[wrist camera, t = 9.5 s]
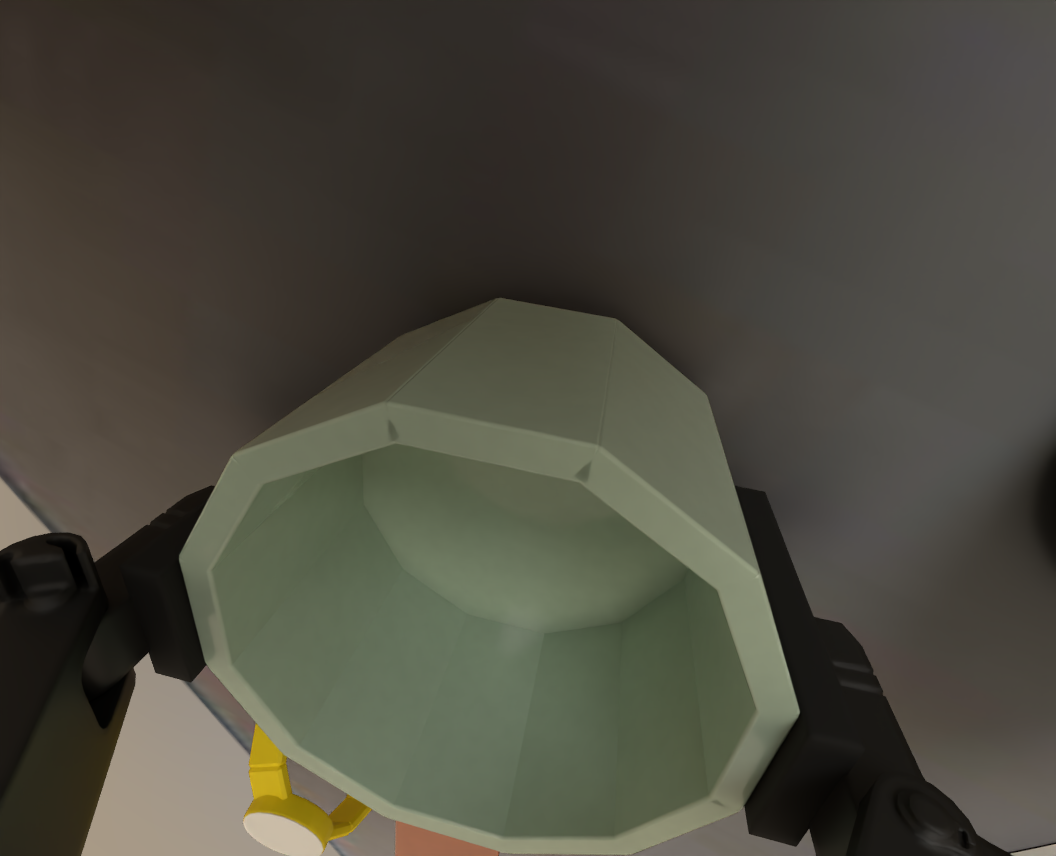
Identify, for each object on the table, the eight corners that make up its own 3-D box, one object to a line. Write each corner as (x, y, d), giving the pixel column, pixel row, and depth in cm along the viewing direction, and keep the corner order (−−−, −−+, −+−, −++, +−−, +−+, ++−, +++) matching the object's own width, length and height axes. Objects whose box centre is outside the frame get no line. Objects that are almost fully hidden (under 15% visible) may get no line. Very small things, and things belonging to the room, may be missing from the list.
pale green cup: (345, 269, 12) (121, 347, 7) (789, 349, 11) (927, 514, 6) (359, 642, 18) (247, 834, 13) (646, 717, 17) (650, 960, 12)
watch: (302, 625, 21) (190, 778, 16) (357, 615, 20) (257, 774, 15) (373, 722, 23) (295, 885, 18) (426, 717, 22) (360, 888, 17)
